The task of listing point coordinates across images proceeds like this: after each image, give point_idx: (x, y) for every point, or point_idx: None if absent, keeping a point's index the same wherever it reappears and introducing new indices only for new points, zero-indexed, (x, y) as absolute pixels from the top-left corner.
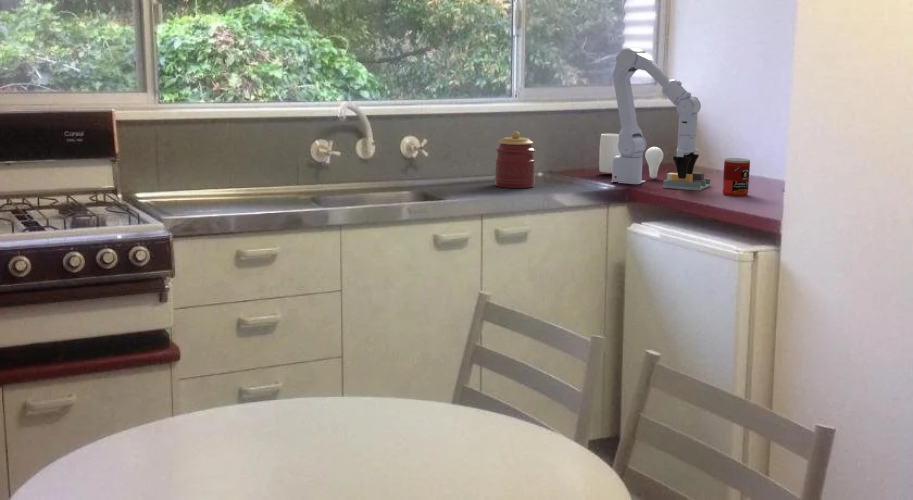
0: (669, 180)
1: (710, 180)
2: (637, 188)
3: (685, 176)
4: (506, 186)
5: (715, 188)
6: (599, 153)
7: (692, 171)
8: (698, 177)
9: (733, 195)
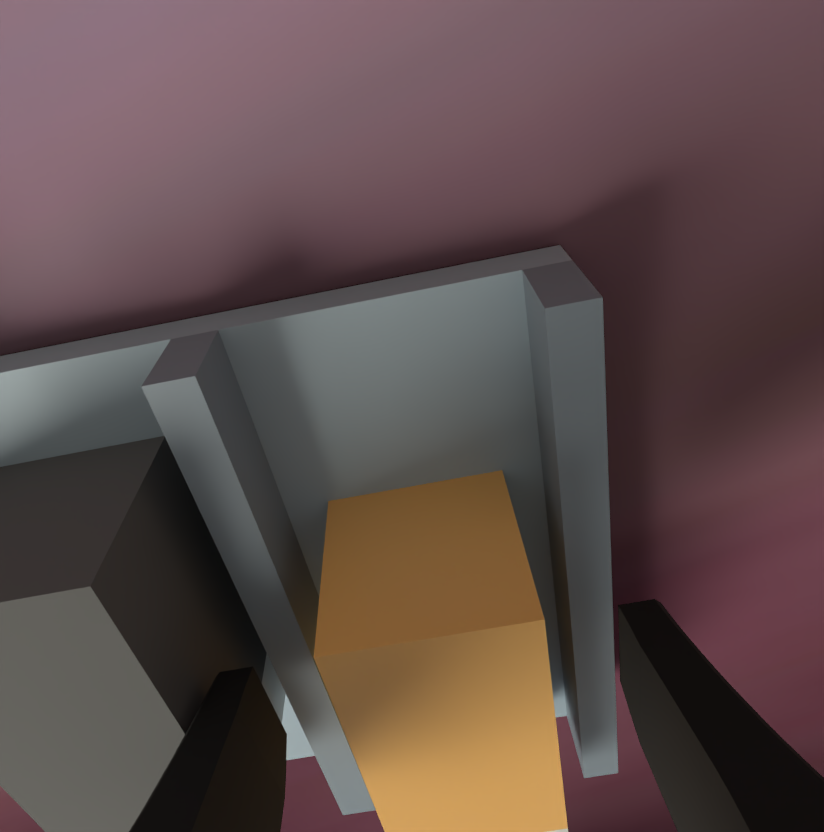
0: (593, 732)
1: None
2: None
3: (672, 626)
4: None
5: (24, 162)
6: None
7: (193, 751)
8: (145, 569)
9: None
